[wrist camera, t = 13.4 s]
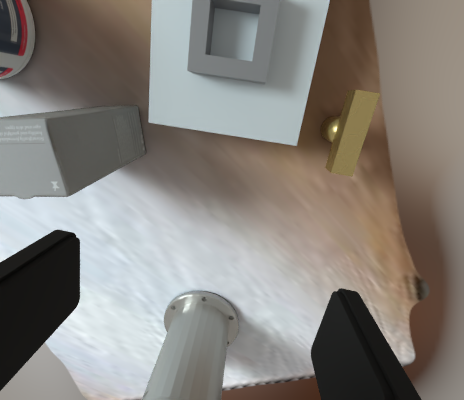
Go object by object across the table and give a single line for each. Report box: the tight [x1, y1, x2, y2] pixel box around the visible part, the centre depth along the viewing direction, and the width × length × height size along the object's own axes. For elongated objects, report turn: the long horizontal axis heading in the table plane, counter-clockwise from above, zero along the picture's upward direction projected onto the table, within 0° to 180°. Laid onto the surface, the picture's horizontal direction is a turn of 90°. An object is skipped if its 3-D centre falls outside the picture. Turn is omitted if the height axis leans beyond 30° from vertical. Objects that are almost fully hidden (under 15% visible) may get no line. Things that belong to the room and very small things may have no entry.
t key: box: [321, 90, 380, 176], centre depth 29 cm, size 3×8×7 cm, turn 171°
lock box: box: [148, 0, 330, 146], centre depth 26 cm, size 18×16×8 cm
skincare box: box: [0, 106, 146, 199], centre depth 28 cm, size 8×7×16 cm
